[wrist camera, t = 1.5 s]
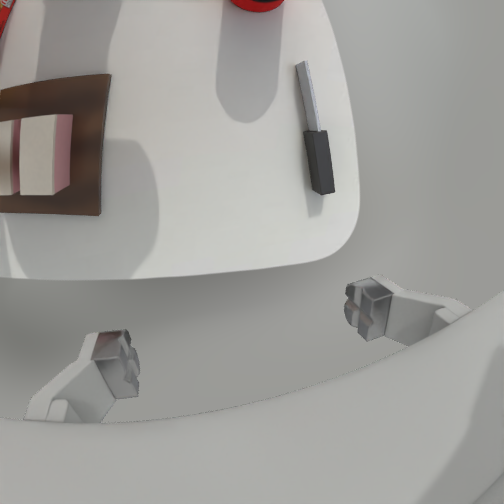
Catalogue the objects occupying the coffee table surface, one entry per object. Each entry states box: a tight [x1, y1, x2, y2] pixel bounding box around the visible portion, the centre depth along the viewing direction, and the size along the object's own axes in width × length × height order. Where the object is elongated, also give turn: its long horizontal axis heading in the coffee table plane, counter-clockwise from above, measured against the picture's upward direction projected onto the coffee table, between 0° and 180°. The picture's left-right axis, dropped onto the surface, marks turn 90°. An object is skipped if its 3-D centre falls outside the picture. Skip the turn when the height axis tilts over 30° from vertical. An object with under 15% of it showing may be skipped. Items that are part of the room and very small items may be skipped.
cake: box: [0, 74, 111, 216], centre depth 25 cm, size 18×18×6 cm
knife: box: [296, 61, 335, 195], centre depth 32 cm, size 17×2×3 cm, turn 12°
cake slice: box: [19, 114, 73, 195], centre depth 25 cm, size 9×5×5 cm, turn 171°
